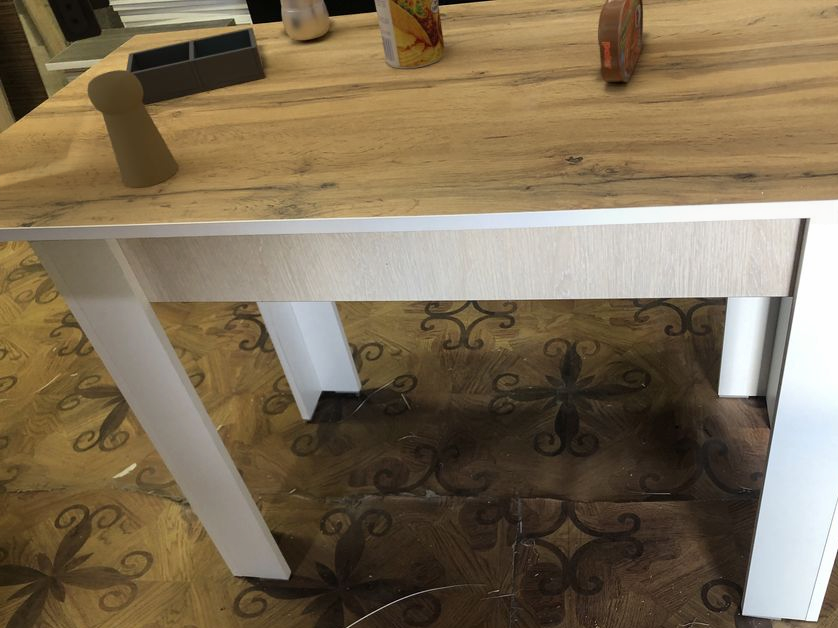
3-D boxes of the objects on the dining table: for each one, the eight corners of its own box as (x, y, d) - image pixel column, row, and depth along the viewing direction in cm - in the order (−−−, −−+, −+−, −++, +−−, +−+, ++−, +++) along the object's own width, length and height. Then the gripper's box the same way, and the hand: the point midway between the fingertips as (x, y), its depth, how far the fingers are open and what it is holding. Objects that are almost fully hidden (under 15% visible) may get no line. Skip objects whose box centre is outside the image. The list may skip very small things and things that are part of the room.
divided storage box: (137, 106, 101) (125, 75, 98) (140, 83, 107) (128, 53, 104) (265, 77, 103) (256, 46, 100) (260, 56, 109) (252, 27, 107)
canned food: (456, 54, 101) (443, -45, 93) (405, 73, 98) (387, -28, 90) (424, 41, 106) (410, -55, 98) (375, 59, 103) (356, -38, 95)
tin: (623, 94, 85) (623, 15, 80) (594, 94, 86) (593, 16, 81) (644, 43, 96) (646, -30, 90) (619, 43, 97) (619, -29, 91)
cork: (120, 170, 86) (76, 73, 79) (175, 155, 88) (136, 58, 80) (124, 193, 82) (78, 92, 75) (181, 176, 83) (141, 76, 76)
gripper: (-30, -191, 69) (61, 7, 80) (-80, -173, 56) (37, 61, 67) (56, -207, 70) (134, -9, 81) (26, -193, 57) (124, 41, 68)
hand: (90, 22), depth 74 cm, fingers open, 9 cm apart
